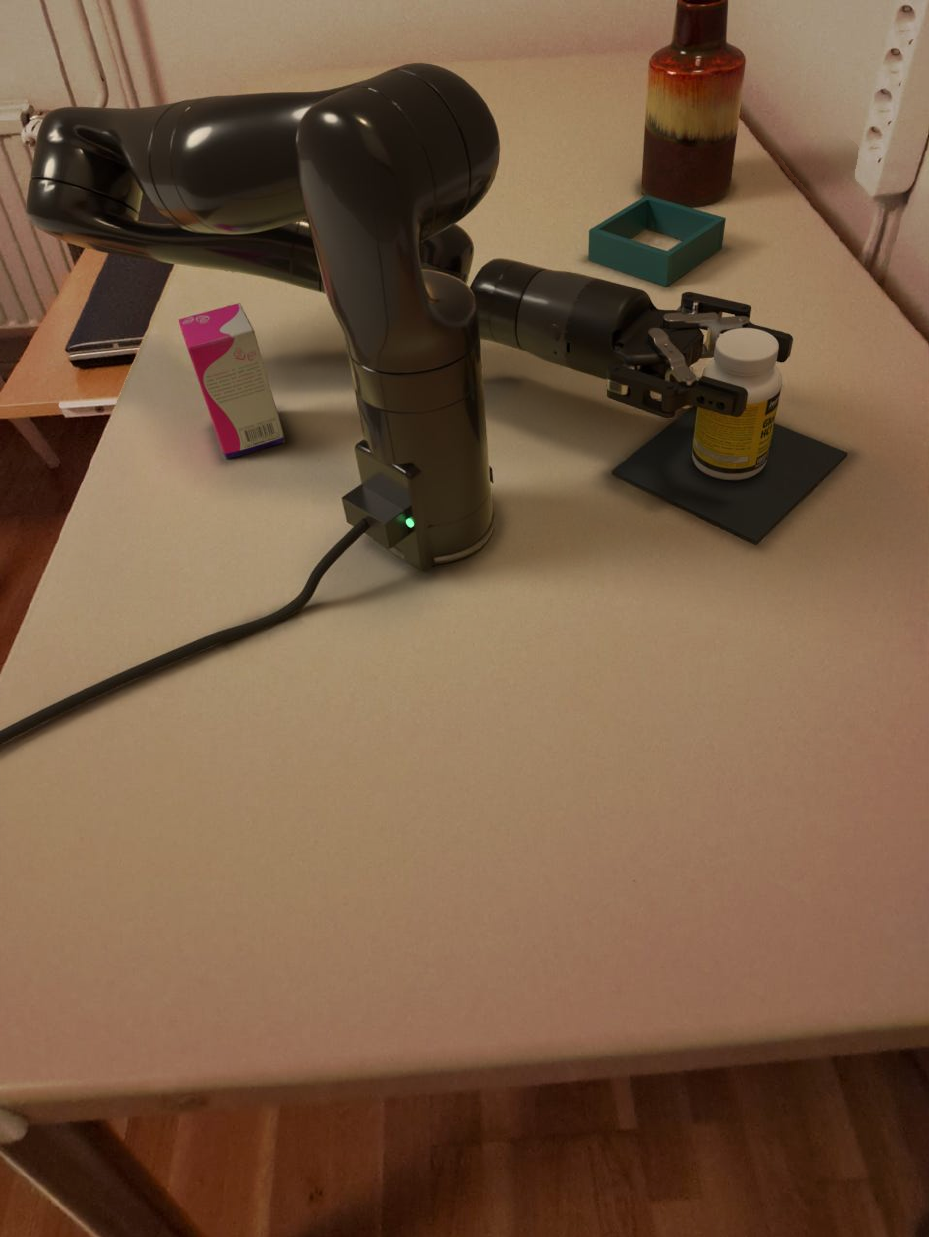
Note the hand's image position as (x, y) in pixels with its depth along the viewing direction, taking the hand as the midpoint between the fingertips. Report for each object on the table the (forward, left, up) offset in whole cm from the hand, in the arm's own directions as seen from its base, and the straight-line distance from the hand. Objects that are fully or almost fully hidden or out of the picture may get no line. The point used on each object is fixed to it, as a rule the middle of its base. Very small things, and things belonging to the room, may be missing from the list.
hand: (768, 376), depth 72 cm
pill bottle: (0, +2, -9) cm, 9 cm away
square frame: (+27, +29, -9) cm, 40 cm away
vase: (+43, +36, -10) cm, 57 cm away
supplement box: (-23, +39, -10) cm, 46 cm away
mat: (0, +2, -9) cm, 9 cm away
